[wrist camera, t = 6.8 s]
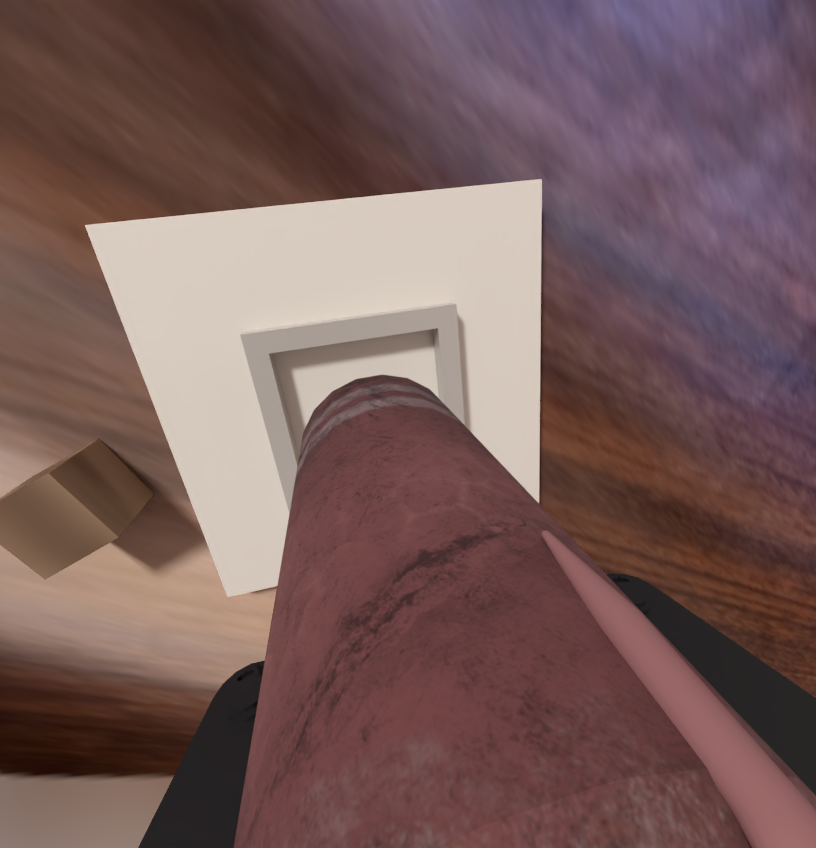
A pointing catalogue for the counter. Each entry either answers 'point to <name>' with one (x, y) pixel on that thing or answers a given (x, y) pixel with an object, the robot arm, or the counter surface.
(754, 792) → the can
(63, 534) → the walnut block
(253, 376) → the board
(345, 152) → the counter surface
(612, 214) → the counter surface
